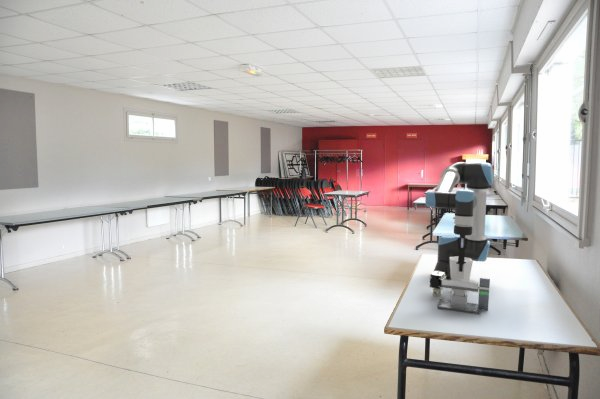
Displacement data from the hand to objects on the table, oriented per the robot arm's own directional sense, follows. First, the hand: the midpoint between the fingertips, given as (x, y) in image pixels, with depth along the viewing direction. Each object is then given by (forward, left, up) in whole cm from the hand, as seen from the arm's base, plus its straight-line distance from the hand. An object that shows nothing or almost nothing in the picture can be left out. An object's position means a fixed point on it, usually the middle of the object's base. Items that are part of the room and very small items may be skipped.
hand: (460, 278), depth 188 cm
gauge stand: (-1, +1, -13) cm, 14 cm away
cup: (-13, -19, -14) cm, 27 cm away
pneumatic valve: (0, -17, -14) cm, 22 cm away
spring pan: (-2, +1, -9) cm, 9 cm away
